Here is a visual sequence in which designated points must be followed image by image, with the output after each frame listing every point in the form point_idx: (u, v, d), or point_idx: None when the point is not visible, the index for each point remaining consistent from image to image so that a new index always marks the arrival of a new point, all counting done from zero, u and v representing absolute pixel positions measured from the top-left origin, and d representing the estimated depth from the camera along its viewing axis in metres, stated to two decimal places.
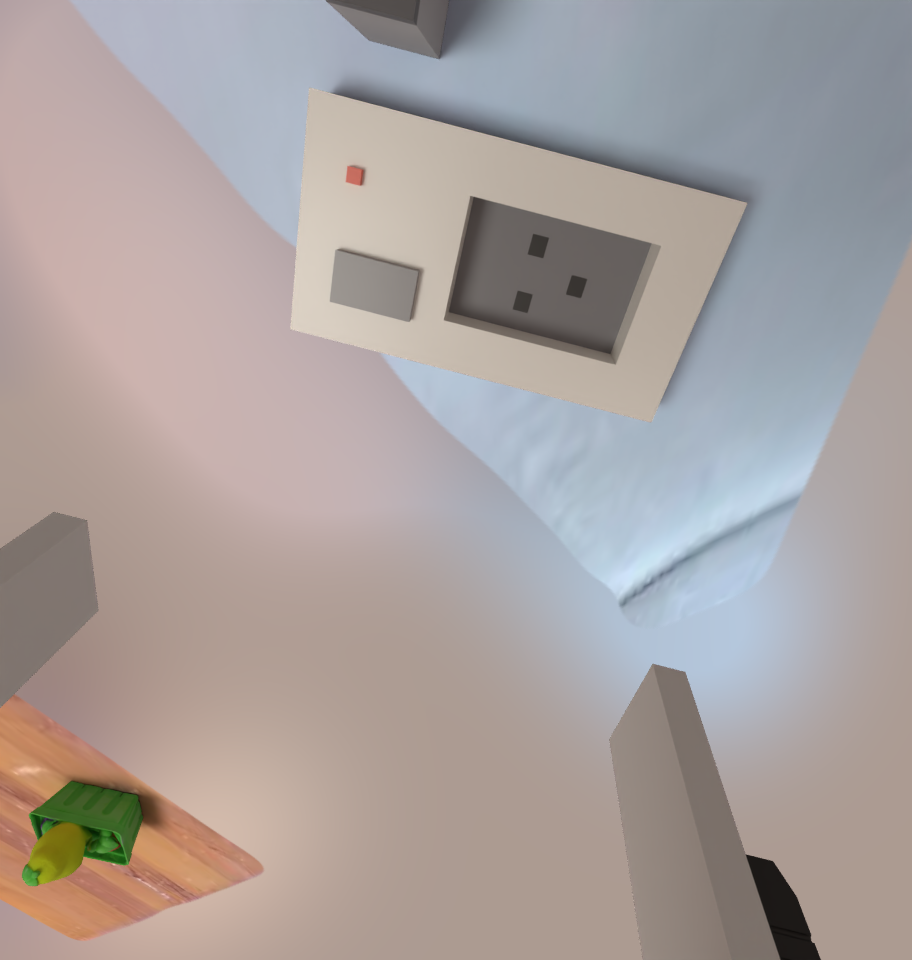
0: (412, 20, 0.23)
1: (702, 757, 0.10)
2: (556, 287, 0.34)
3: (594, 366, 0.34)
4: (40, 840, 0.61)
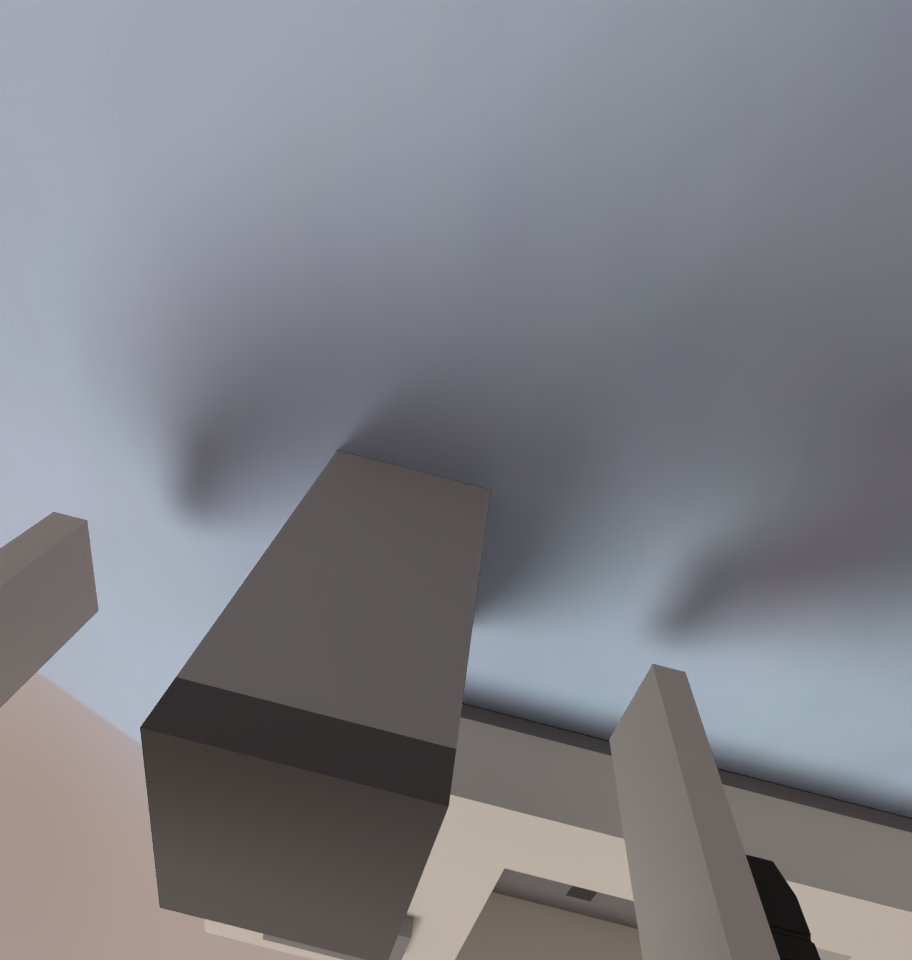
0: None
1: (702, 757, 0.10)
2: None
3: None
4: None
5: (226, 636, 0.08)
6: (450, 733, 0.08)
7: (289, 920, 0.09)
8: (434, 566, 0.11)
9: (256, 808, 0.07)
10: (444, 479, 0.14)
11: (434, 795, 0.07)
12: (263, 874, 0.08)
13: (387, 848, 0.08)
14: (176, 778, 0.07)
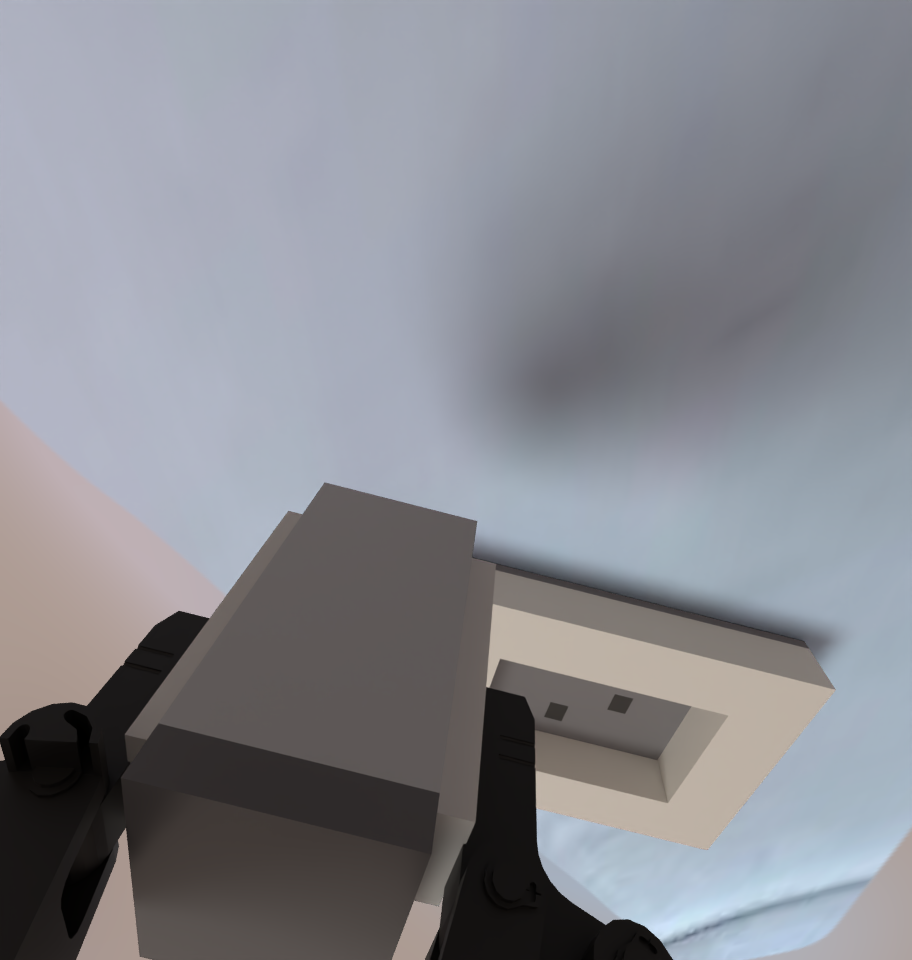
0: None
1: (481, 619, 0.12)
2: (596, 702, 0.29)
3: (643, 802, 0.29)
4: None
5: (211, 679, 0.08)
6: (434, 776, 0.08)
7: None
8: (420, 602, 0.11)
9: (238, 856, 0.07)
10: (431, 510, 0.14)
11: (417, 842, 0.07)
12: (245, 922, 0.08)
13: (370, 895, 0.07)
14: (157, 827, 0.07)
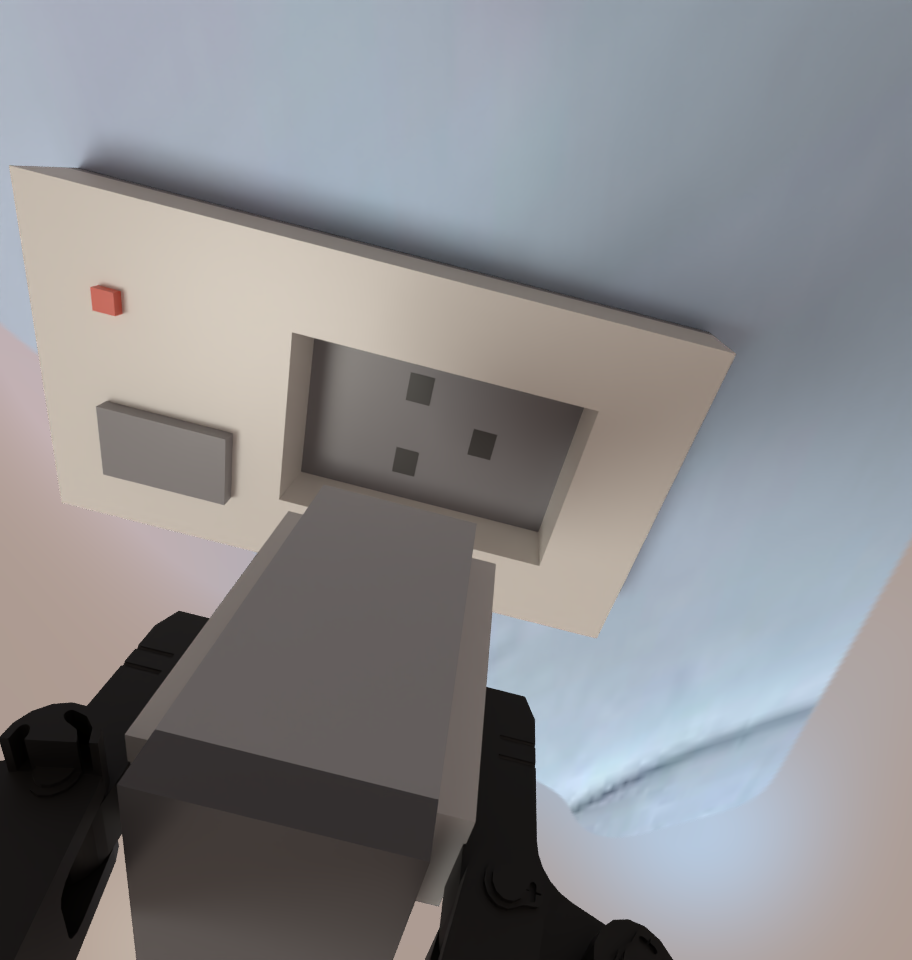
0: None
1: (481, 619, 0.12)
2: (453, 444, 0.23)
3: (508, 566, 0.23)
4: None
5: (207, 685, 0.08)
6: (433, 782, 0.08)
7: None
8: (418, 605, 0.11)
9: (235, 864, 0.07)
10: (430, 513, 0.14)
11: (416, 850, 0.07)
12: (242, 929, 0.08)
13: (369, 903, 0.07)
14: (153, 834, 0.07)
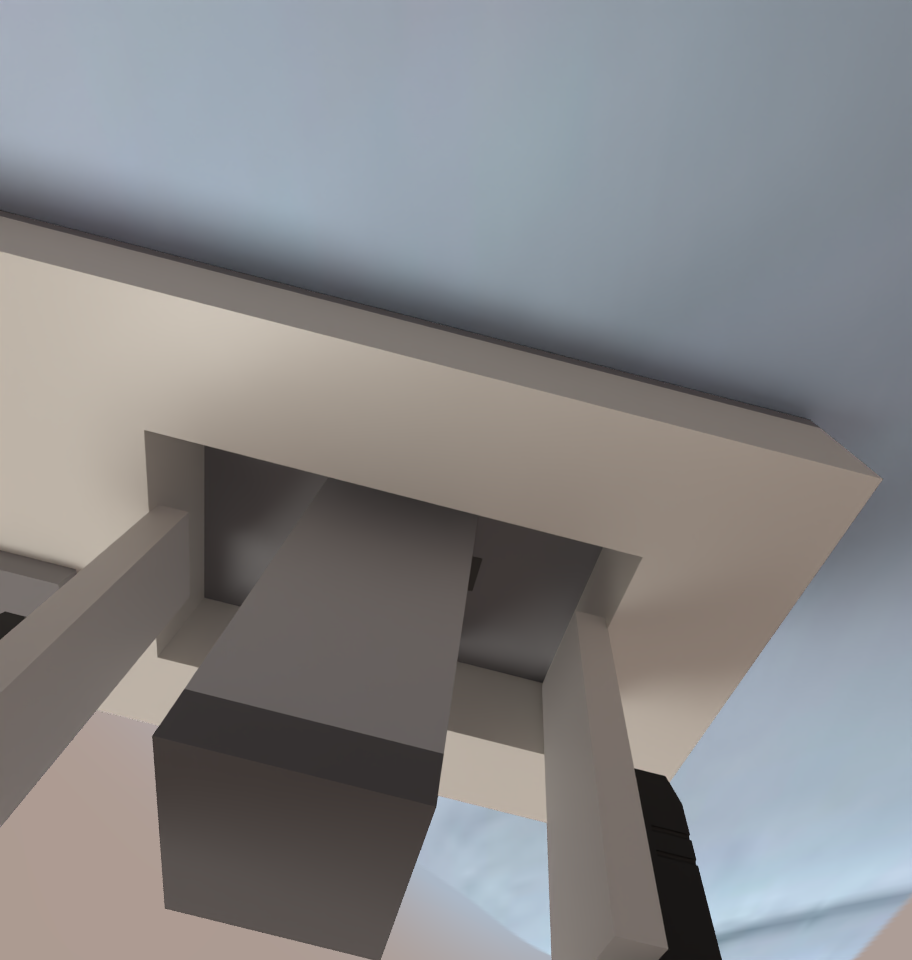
0: None
1: (608, 687, 0.11)
2: None
3: (499, 753, 0.15)
4: None
5: (230, 650, 0.09)
6: (438, 739, 0.08)
7: (287, 918, 0.10)
8: (424, 582, 0.11)
9: (258, 810, 0.08)
10: None
11: (423, 796, 0.08)
12: (263, 873, 0.09)
13: (380, 847, 0.08)
14: (184, 783, 0.08)
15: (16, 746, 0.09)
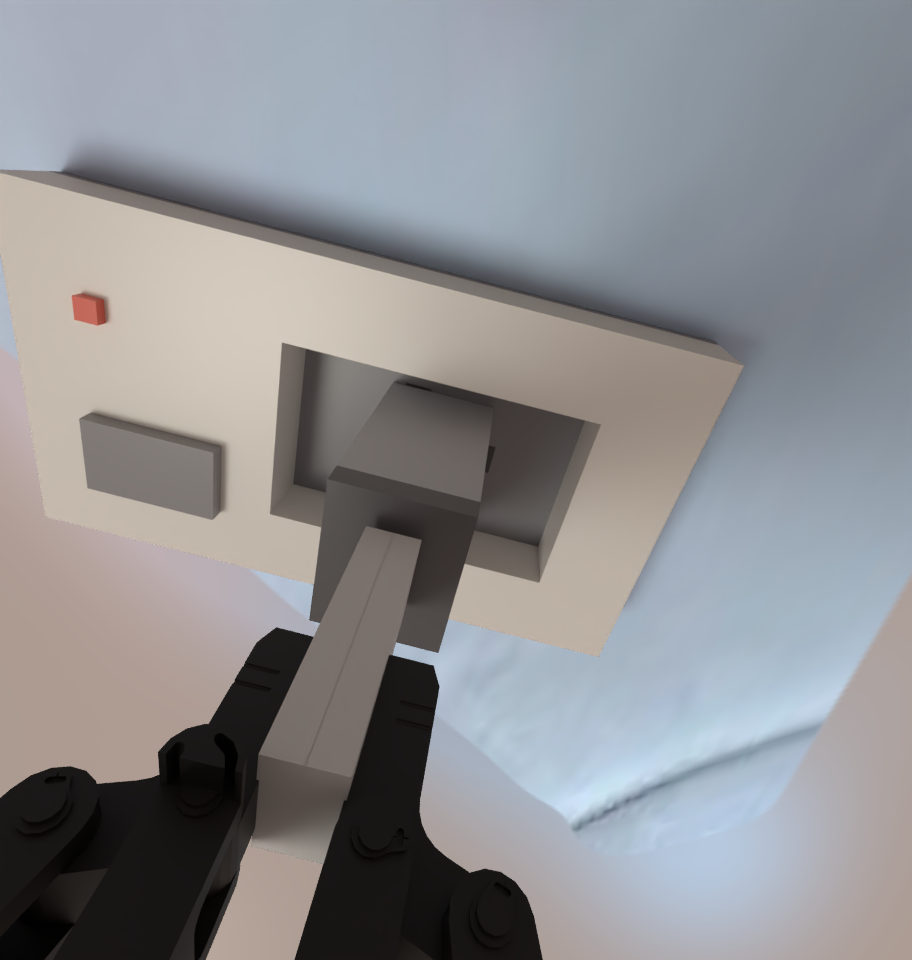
0: (437, 650, 0.17)
1: (396, 591, 0.12)
2: None
3: (507, 583, 0.22)
4: None
5: (356, 454, 0.15)
6: (477, 497, 0.15)
7: None
8: (461, 438, 0.18)
9: None
10: (463, 400, 0.21)
11: (471, 514, 0.14)
12: None
13: (445, 552, 0.15)
14: (339, 513, 0.14)
15: None
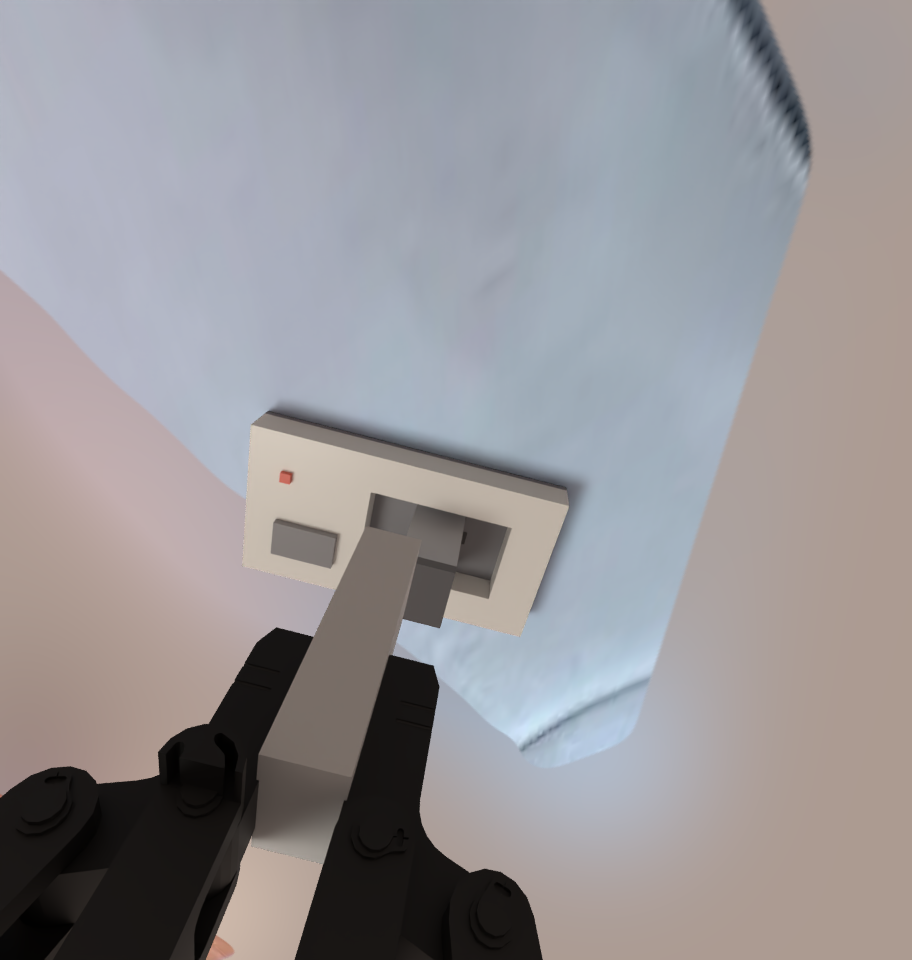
0: (439, 627, 0.39)
1: (396, 591, 0.12)
2: None
3: (473, 599, 0.45)
4: None
5: None
6: (455, 564, 0.38)
7: (417, 614, 0.39)
8: (450, 534, 0.41)
9: (417, 578, 0.38)
10: None
11: (452, 571, 0.37)
12: (414, 598, 0.38)
13: (443, 586, 0.38)
14: None
15: None
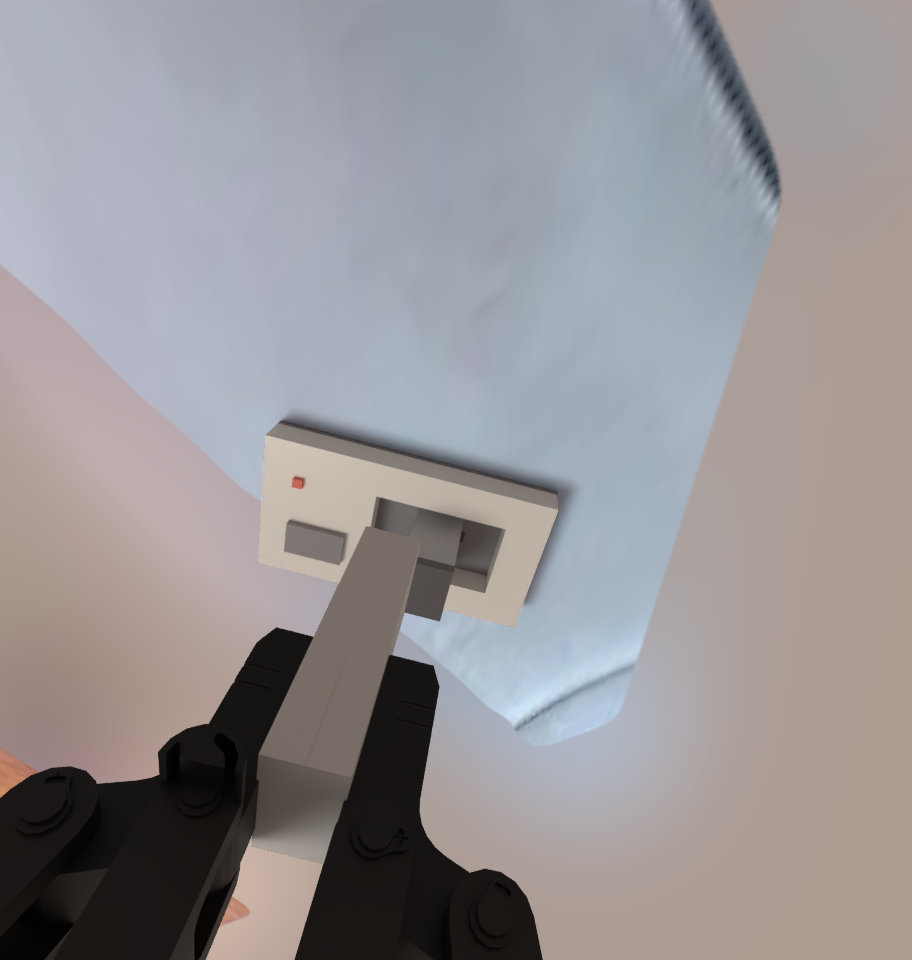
0: (439, 620, 0.43)
1: (396, 591, 0.12)
2: None
3: (470, 593, 0.48)
4: None
5: None
6: (453, 564, 0.42)
7: (419, 608, 0.43)
8: (449, 535, 0.45)
9: (418, 576, 0.41)
10: None
11: (451, 571, 0.41)
12: (416, 594, 0.42)
13: (442, 584, 0.41)
14: None
15: None
